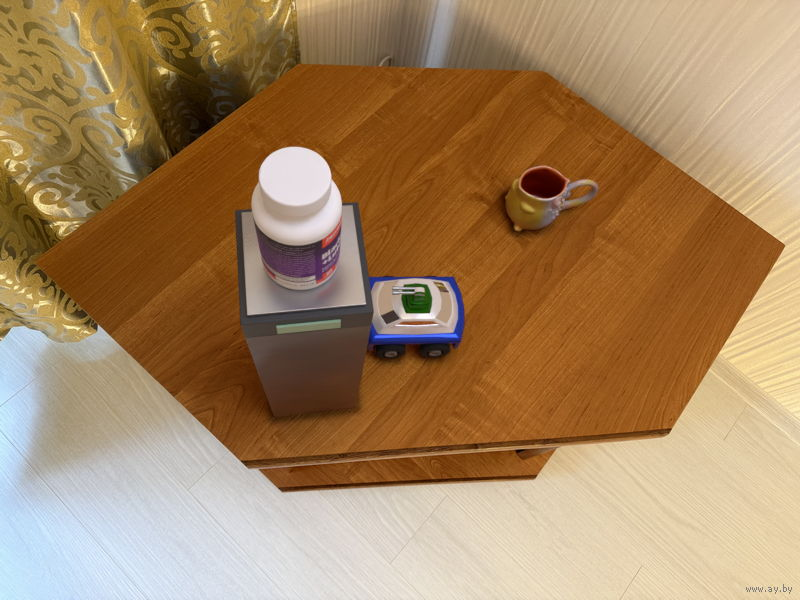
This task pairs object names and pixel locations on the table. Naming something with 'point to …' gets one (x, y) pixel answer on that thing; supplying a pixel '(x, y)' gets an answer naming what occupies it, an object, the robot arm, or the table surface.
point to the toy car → (415, 315)
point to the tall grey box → (307, 324)
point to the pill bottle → (297, 218)
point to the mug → (542, 197)
